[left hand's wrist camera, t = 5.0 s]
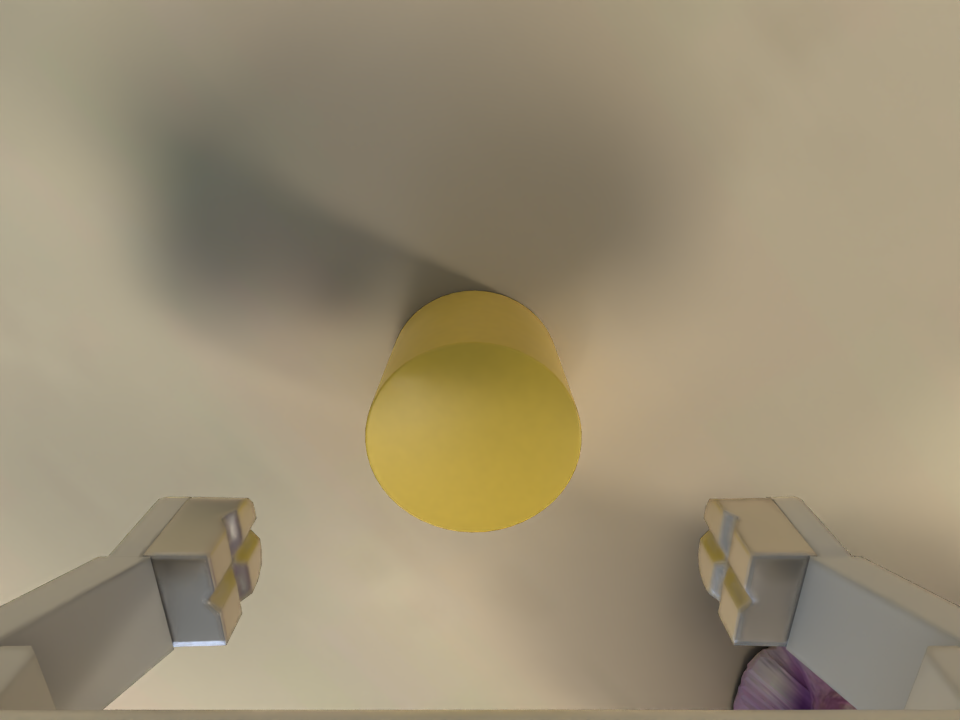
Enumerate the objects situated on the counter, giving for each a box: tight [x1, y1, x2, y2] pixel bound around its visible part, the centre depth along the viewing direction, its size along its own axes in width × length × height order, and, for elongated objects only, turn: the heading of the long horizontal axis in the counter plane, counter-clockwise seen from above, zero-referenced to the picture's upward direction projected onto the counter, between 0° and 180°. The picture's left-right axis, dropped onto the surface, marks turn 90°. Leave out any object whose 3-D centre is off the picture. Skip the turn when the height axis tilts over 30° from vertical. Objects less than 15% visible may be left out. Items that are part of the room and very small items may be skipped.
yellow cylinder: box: [365, 291, 582, 532], centre depth 15 cm, size 5×5×4 cm
